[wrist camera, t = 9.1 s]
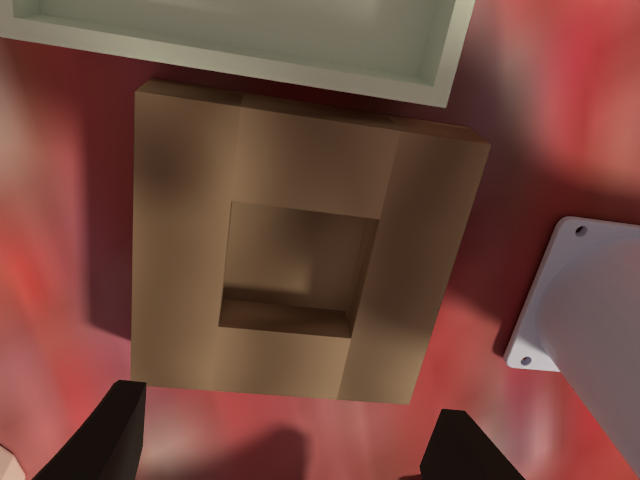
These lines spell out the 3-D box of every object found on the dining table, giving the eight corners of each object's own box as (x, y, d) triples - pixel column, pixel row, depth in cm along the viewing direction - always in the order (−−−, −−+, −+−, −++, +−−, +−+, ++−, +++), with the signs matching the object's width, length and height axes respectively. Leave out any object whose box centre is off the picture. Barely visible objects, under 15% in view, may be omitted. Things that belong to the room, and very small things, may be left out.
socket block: (467, 127, 20) (491, 144, 18) (397, 367, 25) (409, 404, 23) (151, 77, 19) (134, 91, 16) (143, 346, 24) (130, 384, 21)
